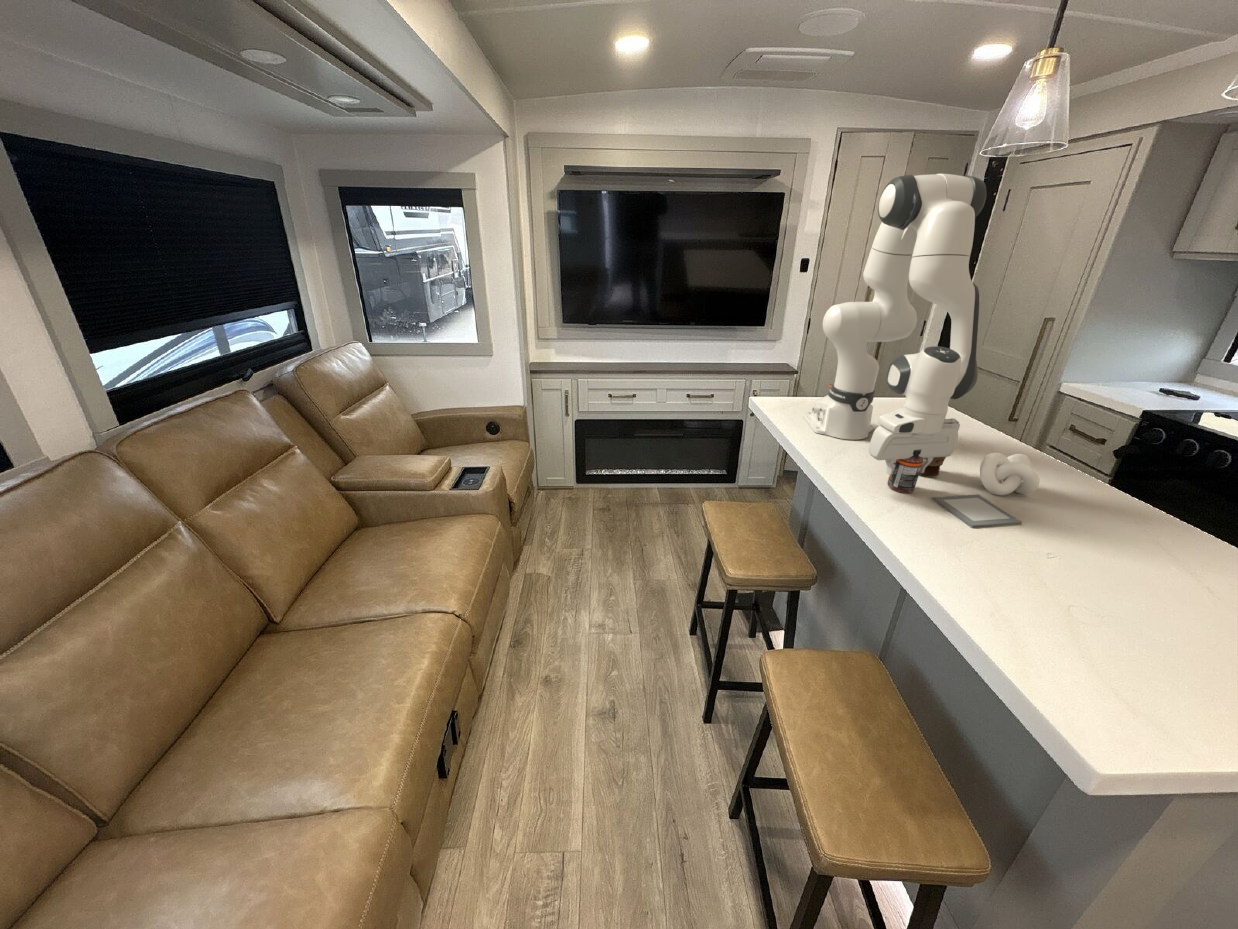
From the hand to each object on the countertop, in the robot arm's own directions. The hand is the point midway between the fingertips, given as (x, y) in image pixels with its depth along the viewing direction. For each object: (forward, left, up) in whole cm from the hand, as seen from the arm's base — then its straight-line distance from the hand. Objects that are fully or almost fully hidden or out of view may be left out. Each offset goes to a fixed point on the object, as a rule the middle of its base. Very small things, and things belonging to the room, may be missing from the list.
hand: (904, 473), depth 118 cm
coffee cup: (-7, +12, -4) cm, 15 cm away
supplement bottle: (0, 0, -4) cm, 4 cm away
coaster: (+12, +10, -4) cm, 16 cm away
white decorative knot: (+3, +25, -5) cm, 26 cm away
